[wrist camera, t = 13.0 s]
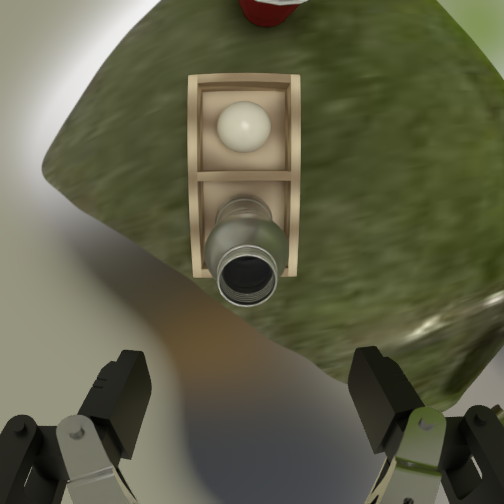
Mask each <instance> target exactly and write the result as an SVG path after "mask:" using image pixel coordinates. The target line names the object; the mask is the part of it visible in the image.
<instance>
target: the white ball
mask: <svg viewBox="0 0 504 504" xmlns="http://www.w3.org/2000/svg"><path fill="white" fill-rule="evenodd" d="M217 132H218V136H219V138H220V140H221V142H222V143H223V144H224V145H225V146H226V147H227V148H229V149H230V150H233V151H235V152H239V153H249V152H253V151H255V150H257V149H259V148H261V147H262V146H263V145H264V144H265V143H266V141H267V140H268V138H269V136H270V133H271V121H270V118H269V115H268V114H267V112H266V111H265V110H264V109H263V108H262V107H261V106H260V105H258V104H256V103H253V102H250V101H239V102H235V103H232V104H230V105H229V106H227V107H226V108H225V109H224V110H223V111H222V113H221V114H220V116H219V118H218V122H217Z"/></svg>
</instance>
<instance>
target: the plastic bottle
mask: <svg viewBox="0 0 504 504" xmlns="http://www.w3.org/2000/svg"><path fill="white" fill-rule="evenodd" d="M204 256H205V262H206V265H207V268H208V270H209V272H210V273H211V275H212V276H213V278H214V279H215V280H216V281H217V286H218V289H219V292H220V293H221V295H222V296H223V297H224V298H225V299H226V300H227V301H228V302H230V303H232V304H234V305H236V306H240V307H253V306H257V305H260V304H262V303H264V302H265V301H267V300H268V299H269V298H270V297H271V296H272V295H273V293H274V292H275V289H276V287H277V282H278V279H279V278H280V277H281V275H282V274H283V272H284V270H285V268H286V265H287V263H288V258H289V245H288V241H287V238H286V236H285V234H284V232H283V231H282V230H281V228H280V227H279V226H278V225H277V224H276V223H275V222H274V221H273V217H272V213H271V210H270V208H269V207H268V205H267V204H266V203H265V202H264V201H263V200H262V199H260V198H258V197H256V196H253V195H249V194H239V195H235V196H232V197H230V198H228V199H227V200H226V201H224V202H223V203H222V205H221V206H220V207H219V209H218V211H217V213H216V217H215V227H214V228H213V230H212V231H211V233H210V234H209V236H208V238H207V241H206V244H205V250H204Z"/></svg>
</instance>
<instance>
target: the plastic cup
mask: <svg viewBox="0 0 504 504" xmlns="http://www.w3.org/2000/svg"><path fill="white" fill-rule="evenodd" d="M305 1H308V0H239V3H240V6H241V8H242V9H243V12H244V15H245V16H246V18H247V19H248V20H249V21H250V22H251V23H253V24H255V25H258V26H262V27H272V26H276V25H278V24H280V23H282V22H284V20H285V19H286V18H287V17H288V16H289V15H290V14H291V13H292V12H293V11H294V10H295V9H296V8H297V7H298V6H299V5H300V4H301V3H303V2H305Z"/></svg>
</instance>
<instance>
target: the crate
mask: <svg viewBox="0 0 504 504" xmlns="http://www.w3.org/2000/svg"><path fill="white" fill-rule="evenodd" d="M239 101H250V102H253V103H256V104H258V105H260V106H261V107H262V108H263V109H264V110H265V111H266V112H267V114H268V115H269V118H270V121H271V133H270V136H269V138H268V140H267V141H266V143H265V144H264V145H263V146H262V147H261V148H259V149H257V150H255V151H253V152H249V153H239V152H235V151H233V150H230V149H229V148H227V147H226V146H225V145H224V144H223V143H222V142H221V140H220V138H219V136H218V132H217V122H218V118H219V116H220V114H221V113H222V111H223V110H224V109H225V108H226V107H227V106H229V105H230V104H232V103H235V102H239ZM300 163H301V102H300V75H292V74H272V73H220V74H201V75H188V188H189V214H190V233H191V250H192V265H193V278H213V276H212V275H211V273H210V272H209V270H208V268H207V265H206V262H205V256H204V250H205V244H206V241H207V238H208V236H209V234H210V233H211V231H212V230H213V228H214V227H215V217H216V213H217V211H218V209H219V207H220V206H221V205H222V203H223V202H224V201H226V200H227V199H228V198H230V197H232V196H235V195H239V194H249V195H253V196H256V197H258V198H260V199H262V200H263V201H264V202H265V203H266V204H267V205H268V207H269V208H270V210H271V213H272V217H273V221H274V222H275V223H276V224H277V225H278V226H279V227H280V228H281V230H282V231H283V232H284V234H285V236H286V238H287V241H288V245H289V258H288V263H287V265H286V268H285V270H284V272H283V274H282V275H281V277H288V276H297V258H298V236H299V208H300Z"/></svg>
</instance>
